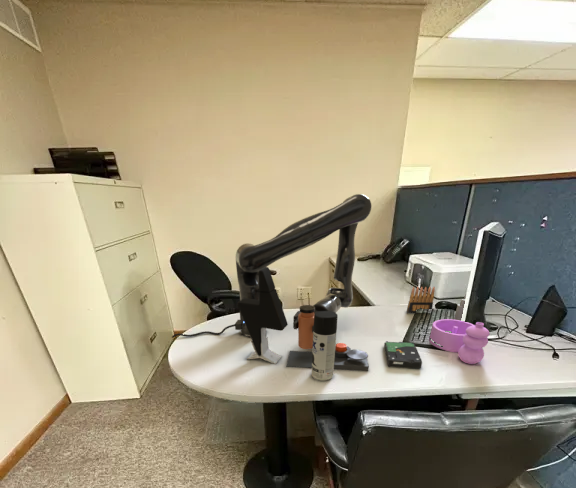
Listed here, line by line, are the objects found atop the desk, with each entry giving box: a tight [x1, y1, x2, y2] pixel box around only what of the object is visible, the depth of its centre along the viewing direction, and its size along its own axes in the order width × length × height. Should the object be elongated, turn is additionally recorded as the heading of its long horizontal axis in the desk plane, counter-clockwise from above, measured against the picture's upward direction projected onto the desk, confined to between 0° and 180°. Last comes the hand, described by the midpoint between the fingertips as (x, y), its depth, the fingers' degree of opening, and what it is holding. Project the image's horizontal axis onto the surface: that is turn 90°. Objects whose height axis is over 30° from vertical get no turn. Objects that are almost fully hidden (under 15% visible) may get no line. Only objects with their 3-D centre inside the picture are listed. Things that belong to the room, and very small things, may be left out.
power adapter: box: [453, 293, 467, 321], centre depth 135 cm, size 3×5×12 cm, turn 81°
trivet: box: [286, 350, 313, 369], centre depth 109 cm, size 11×11×1 cm
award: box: [236, 266, 288, 365], centre depth 103 cm, size 15×5×30 cm, turn 71°
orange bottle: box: [297, 304, 315, 350], centre depth 104 cm, size 6×6×13 cm
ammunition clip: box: [406, 286, 436, 314], centre depth 145 cm, size 11×2×12 cm, turn 89°
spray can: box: [311, 311, 338, 382], centre depth 96 cm, size 7×7×20 cm
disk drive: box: [383, 340, 423, 369], centre depth 110 cm, size 10×3×15 cm
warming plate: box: [346, 349, 369, 360], centre depth 105 cm, size 7×7×1 cm
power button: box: [336, 342, 348, 352], centre depth 108 cm, size 4×4×2 cm
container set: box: [428, 318, 490, 365], centre depth 113 cm, size 25×15×13 cm, turn 179°
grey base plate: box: [334, 345, 370, 372], centre depth 107 cm, size 14×11×4 cm
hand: (303, 328), depth 101 cm, fingers closed on orange bottle, 5 cm apart
